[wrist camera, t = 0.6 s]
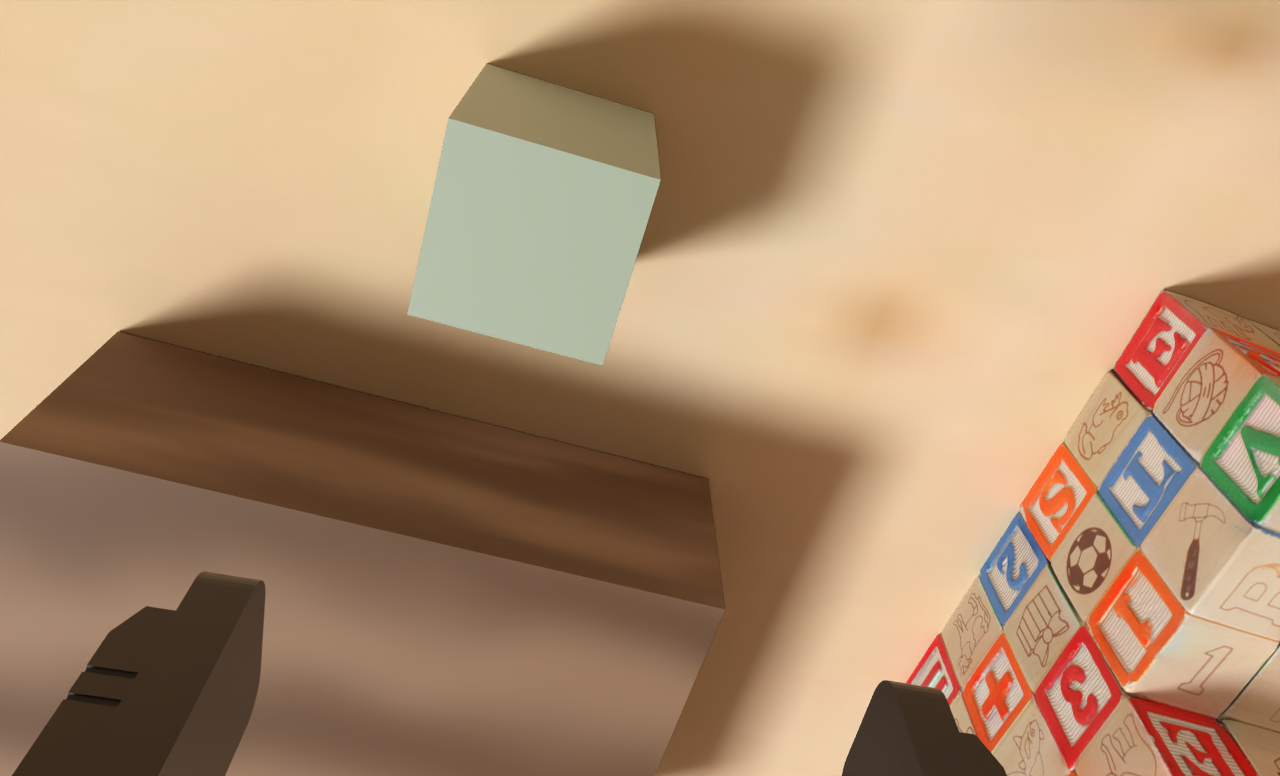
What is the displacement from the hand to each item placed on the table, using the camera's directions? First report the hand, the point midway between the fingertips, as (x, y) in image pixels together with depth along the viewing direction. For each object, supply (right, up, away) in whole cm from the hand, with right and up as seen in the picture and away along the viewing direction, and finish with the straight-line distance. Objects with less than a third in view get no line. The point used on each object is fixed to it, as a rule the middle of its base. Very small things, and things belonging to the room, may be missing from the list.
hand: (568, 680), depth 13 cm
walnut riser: (-9, -4, +25) cm, 26 cm away
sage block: (-2, +10, +17) cm, 20 cm away
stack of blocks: (+17, -3, +25) cm, 30 cm away
